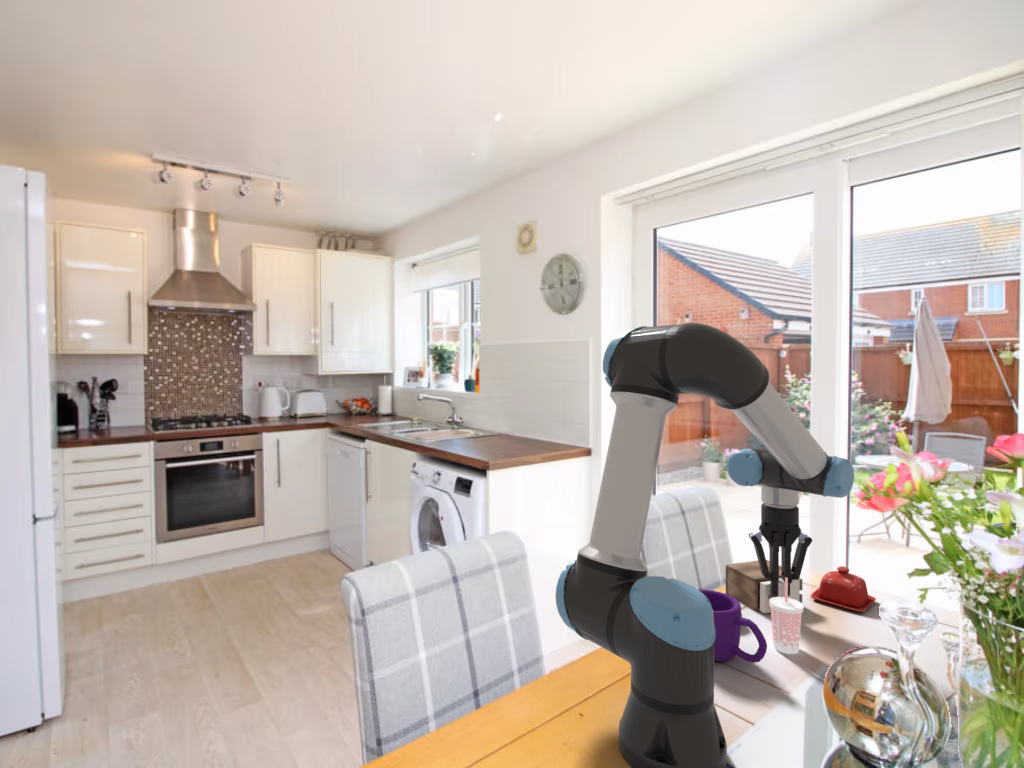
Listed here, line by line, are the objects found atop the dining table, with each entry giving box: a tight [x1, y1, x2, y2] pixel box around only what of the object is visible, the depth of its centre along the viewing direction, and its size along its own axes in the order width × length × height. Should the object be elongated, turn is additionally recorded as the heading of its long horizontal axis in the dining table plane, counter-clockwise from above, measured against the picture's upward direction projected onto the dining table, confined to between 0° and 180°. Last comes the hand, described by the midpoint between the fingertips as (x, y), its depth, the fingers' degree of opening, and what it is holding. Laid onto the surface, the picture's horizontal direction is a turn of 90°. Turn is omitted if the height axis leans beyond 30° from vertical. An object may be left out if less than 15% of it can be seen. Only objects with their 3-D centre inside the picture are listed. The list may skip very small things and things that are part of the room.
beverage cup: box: [769, 577, 804, 655], centre depth 109 cm, size 6×6×14 cm
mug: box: [698, 589, 768, 664], centre depth 106 cm, size 17×11×10 cm, turn 35°
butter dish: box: [810, 566, 877, 613], centre depth 131 cm, size 12×12×8 cm
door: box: [759, 578, 803, 614], centre depth 126 cm, size 12×3×6 cm, turn 110°
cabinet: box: [725, 559, 782, 612], centre depth 132 cm, size 10×12×8 cm
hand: (780, 609), depth 123 cm, fingers closed
